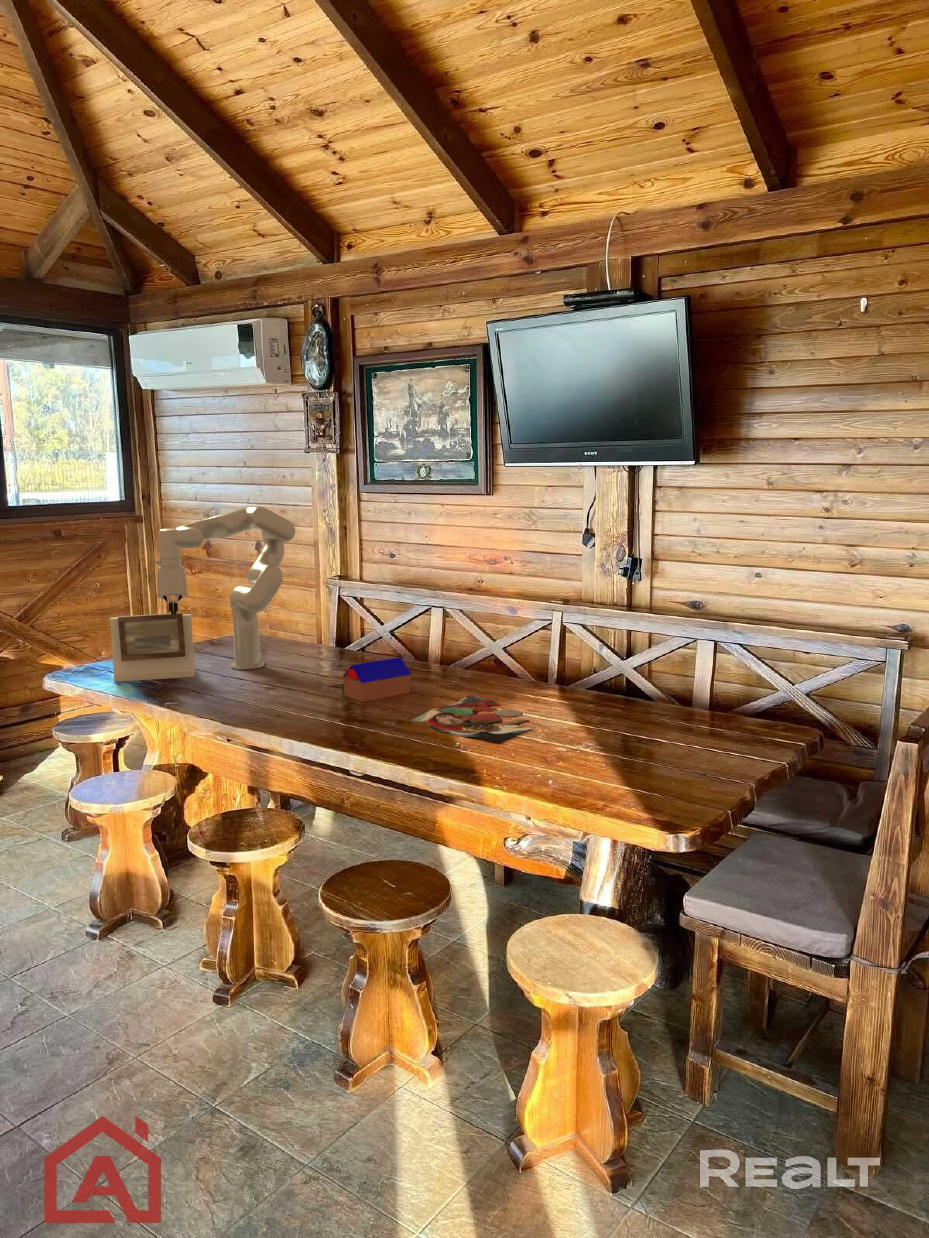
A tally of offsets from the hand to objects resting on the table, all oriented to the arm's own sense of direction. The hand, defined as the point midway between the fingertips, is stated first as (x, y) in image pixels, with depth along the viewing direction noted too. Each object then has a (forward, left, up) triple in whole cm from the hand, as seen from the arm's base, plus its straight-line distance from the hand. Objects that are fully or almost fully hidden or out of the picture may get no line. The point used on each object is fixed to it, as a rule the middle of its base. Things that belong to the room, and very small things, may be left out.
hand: (173, 613), depth 332 cm
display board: (-1, -9, -24) cm, 26 cm away
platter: (+40, +119, -25) cm, 128 cm away
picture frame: (+3, -7, -16) cm, 18 cm away
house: (+13, +79, -25) cm, 84 cm away
